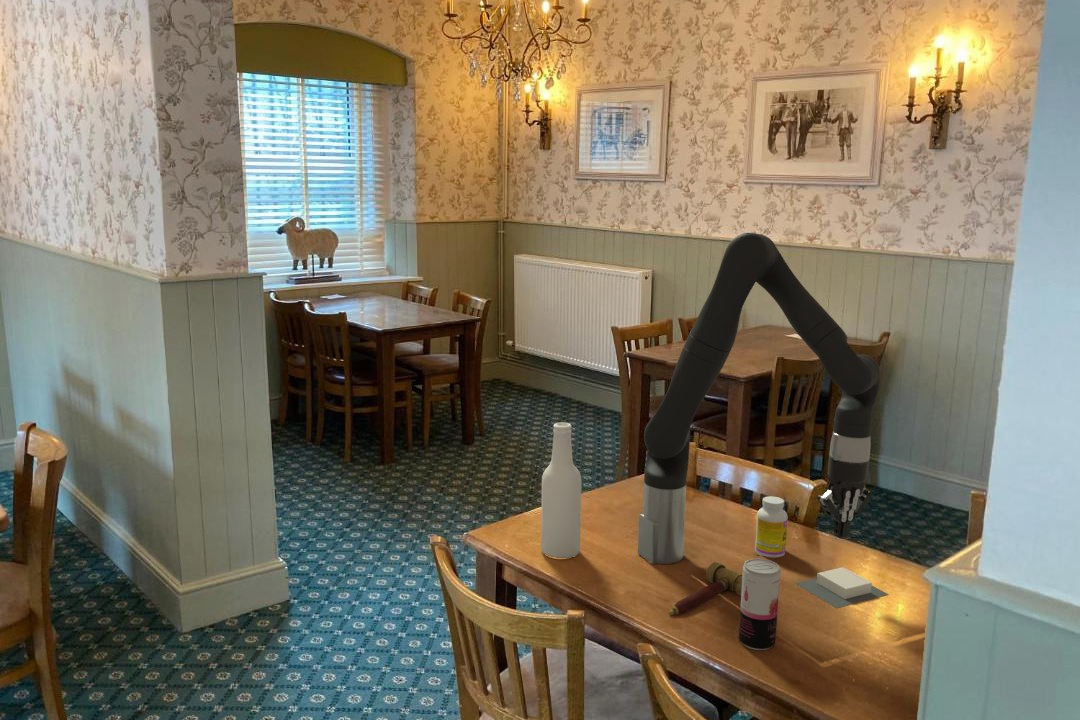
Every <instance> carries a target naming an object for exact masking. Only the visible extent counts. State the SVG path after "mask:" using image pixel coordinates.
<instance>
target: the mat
mask: <svg viewBox="0 0 1080 720" xmlns="http://www.w3.org/2000/svg"><path fill="white" fill-rule="evenodd" d="M794 584H795V585H797V586H798V587H800V588H802V590H805V591H806V592H809V593H810V594H811V595H814V596H815V597H816V598H818V599H820V600H822V601H823V602H825V603H826V604H829V605H830V606H832V607H834V608H835V609H839V608H840V609H841V608H844V607H846V606H851V605H855V604H858V603H862V602H866V601H871V600H874V599H878V598H881V597H885V596H889V595H890V594H889V593H887V592H885V591H883V590H881V589H880V588H877V586H874V585H872V586H871V593H868V594H864V595H860V596H856V597H852V598H848V599H844V598H842V597H840V596H838V595H837V594H835V593H833V592H831V591H830V590H828V589H826V588H825V587H823V586H821V585H819V584H818V583H817V577H814V578H810V579H807V580H802V581H799V582H798V581H797V582H795V583H794Z"/></svg>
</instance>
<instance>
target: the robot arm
mask: <svg viewBox="0 0 1080 720" xmlns="http://www.w3.org/2000/svg"><path fill="white" fill-rule="evenodd" d="M756 283H757V284H758V285H759V286H760V287H761V288H763V290H765V291H766V292H767V293H768V294H769V295H770V296H771V297H772V299H773V301H775V302H776V304H777V305H778V306H779V308H780V309H781V310H782V312H783V314H784V316H785V317H786V319H787V321H788V322H789V324H790V325H791V327H792V328H793V330H794V331H795V332H796V334H797V335H798V336H799V337H800V338H801V340H802V341H804V342H803V343H805V344H806V345H807V346H808V348H809V349H810V350H811V351H812V352H813V353H814V354H815V355H816V356H817V357H818V359H819V362H820V363H821V365H822V366H823V368H824V370H825V371H826V373H827V375H828V376H829V377H830V380H831V381H832V382H833V383H834V384H835V385H836V386H837V388H839V389H840V390H841V398H840V401H839V403H838V404H837V405H836V408H835V413H834V418H833V419H834V420H833V429H832V436H831V439H830V446H829V447H830V448H829V455H828V456H829V457H828V463H827V464H828V465H827V475H828V479H829V483H828V484H827V486H826V489H827V491H826V492H825V493H824V494H818V496H817V501H818V503H819V504H820V506H821V508H822V510H823V511H824V513H825V514H826V516H827V517H829V518H832V519H833V520H834V524H833V534H834V536H835V537H836V538H839V539H841V540H842V539H846V538H849V534H850V530H851V529H850V527H851V521H852V520H853V518H854V517H859V516H860V514H861V513H862V511H863V510H864V508H865V507H866V505H867V504H868V503H869V501H870V499H871V498H872V496H873V491H871V490H869V489H868V488H866V486H865V484H866V483H865V482H866V481H867V480H868V476H869V474H868V473H869V465H870V457H871V456H870V455H871V446H872V445H871V436H872V435H871V434H872V424H873V412H874V408H875V404H876V400H877V396H878V392H879V388H880V382H881V367H880V365H879V363H878V362H877V360H876V359H874V357H872V356H870V355H868V354H856V352H855V351H854V350H853V348H852V347H851V346H850V345H849V343H848V336H847V333H846V332H845V331H844V330H843V328H842V327H840V325H839V324H838V323H837V322H836V320H835V319H834V318H833V317H832V316H831V315H830V314H829V312H827V311H826V309H825V308H823V306H822V305H821V304H820V303H819V302H818V301H817V299H815V298H814V297H813V296H812V294H810V292H809V291H808V290H807V288H806V287H804V285H803V284H802V283H801V281H800V280H799V279H798V278H797V276H796V275H795V274H794V271H792V269H791V268H790V266H789V265H788V263H787V262H786V260H785V259H784V257H783V256H782V254H781V253H780V250H779V249H778V248H777V246H776V244H775V243H774V241H773V240H772V239H771V238H770V237H768V236H766V235H765V234H761V233H756V232H744V233H741V234H738V235H737V236H735V237H734V238H733V239H732V240H731V241H730V242H729V243H728V245H727V247H726V249H725V251H724V253H723V257H722V259H721V263H720V266H719V269H718V271H717V274H716V278H715V280H714V283H713V286H712V288H711V290H710V293H709V294H708V297H707V298H706V300H705V301H704V304H703V306H702V308H701V310H700V312H699V314H698V316H697V318H696V320H695V322H694V324H693V327H692V328H691V330H690V332H689V334H688V336H687V338H686V341H685V342H684V345H683V346H682V350H681V352H680V353H679V357H678V359H677V362H676V365H675V368H674V370H673V373H672V375H671V380H670V383H669V386H668V389H667V391H666V393H665V395H664V397H663V399H662V401H661V403H660V404H659V406H658V408H657V410H656V411H655V413H654V415H652V416H651V418H650V420H649V421H648V422H647V424H646V426H645V429H644V432H643V433H644V434H643V441H644V445H645V447H646V450H647V451H646V452H647V453H646V454H647V455H646V462H645V467H644V475H643V476H644V478H643V481H644V482H643V501H642V504H643V505H642V506H643V507H642V508H643V509H642V513H639V515H638V534H637V535H638V537H637V540H638V541H637V542H638V543H637V554H638V555H639V556H640V555H641V558H643V559H644V560H646V561H647V562H649V563H650V564H652V565H654V564H655V565H656V564H662V565H663V564H664V565H668V564H675V563H678V562H681V561H682V560H683V558H684V540H685V520H686V519H685V517H686V495H687V480H688V479H687V477H688V470H689V459H690V446H691V444H690V443H691V427H692V424H693V421H694V418H695V416H696V413H697V411H698V409H699V407H700V405H701V404H702V401H703V400H704V399H705V397H706V396H707V394H708V393H709V391H710V390H711V388H712V386H713V385H714V383H715V381H716V379H717V377H718V376H719V374H720V372H722V370H723V367H724V365H725V363H726V362H727V359H728V357H729V356H730V353H731V351H732V349H733V346H734V344H735V341H736V338H737V333H738V330H739V325H740V319H741V313H742V311H743V307H744V305H745V303H746V300H747V298H748V297H749V295H750V293H751V290H752V289H753V287H754V286H755V284H756Z"/></svg>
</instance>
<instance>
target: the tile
mask: <svg viewBox="0 0 1080 720" xmlns="http://www.w3.org/2000/svg"><path fill="white" fill-rule="evenodd" d="M816 578H817V583H818V584H819V585H821V586H823V587H825V588H826V589H828V590H830V591H831V592H833V593H835V594H837V595H838V596H840V597H842V598H844V599H848V598H852V597H856V596H860V595H864V594H868V593H871V586H873V585H872V584H873V583H872V581H870V580H868V579H866V578H864V577H863V576H861V575H858V574H857V573H854V572H853V571H851V570H849V569H848V568H846V567H838V568H833V569H829V570H825V571H821V572H817V573H816Z"/></svg>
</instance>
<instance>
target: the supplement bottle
mask: <svg viewBox="0 0 1080 720" xmlns="http://www.w3.org/2000/svg"><path fill="white" fill-rule="evenodd" d="M784 507H785V500H784V499H783V498H781V497H777V496H771V495H769V496H765V497H763V498H762V507H761V508H760V509H759V510H758V511H757V514H756V527H755V542H754V543H755V544H754V551H755V553H756V554H757V555H758V556H759V557H760V556H763V557H766V558H780V557H783V556H784V555H785V554H786V545H787V531H788V530H787V529H788V518H789V517H788V514H787V513H788V512H786V511H785V510H784Z"/></svg>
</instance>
